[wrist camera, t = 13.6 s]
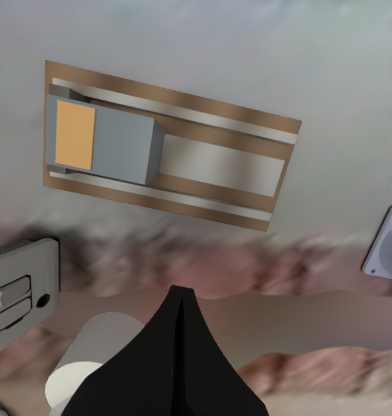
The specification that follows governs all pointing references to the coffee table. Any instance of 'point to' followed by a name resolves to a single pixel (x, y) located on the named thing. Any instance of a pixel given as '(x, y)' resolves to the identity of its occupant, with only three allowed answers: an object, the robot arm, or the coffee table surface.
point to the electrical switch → (27, 286)
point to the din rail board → (185, 150)
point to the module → (103, 140)
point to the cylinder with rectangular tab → (89, 355)
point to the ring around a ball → (3, 413)
